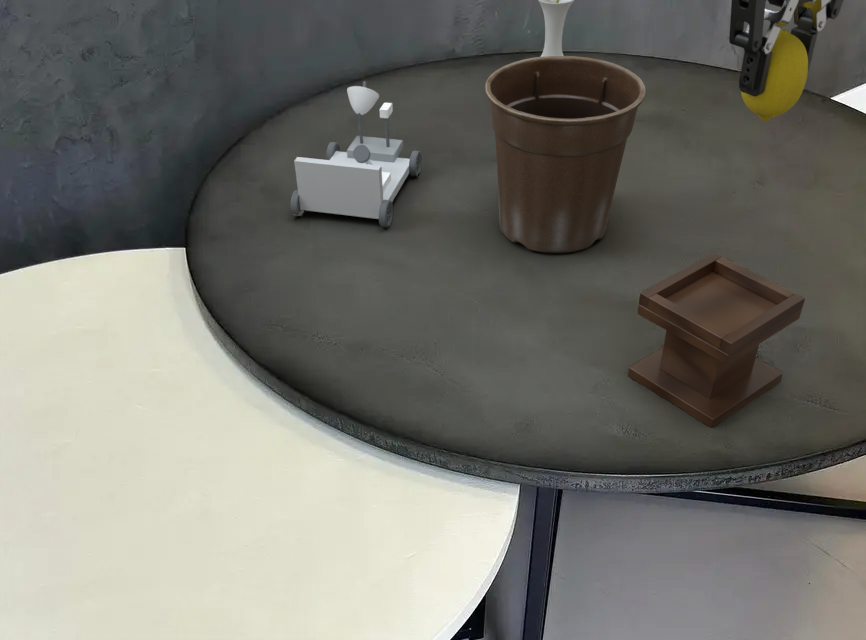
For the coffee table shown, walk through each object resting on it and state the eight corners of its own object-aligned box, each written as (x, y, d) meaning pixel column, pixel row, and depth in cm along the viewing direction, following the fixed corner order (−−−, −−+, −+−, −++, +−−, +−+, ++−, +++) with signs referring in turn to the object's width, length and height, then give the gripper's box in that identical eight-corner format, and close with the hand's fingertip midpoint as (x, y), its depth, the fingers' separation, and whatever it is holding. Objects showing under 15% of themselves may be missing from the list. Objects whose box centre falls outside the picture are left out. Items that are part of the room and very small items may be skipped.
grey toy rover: (334, 74, 120) (426, 82, 118) (341, 151, 127) (428, 160, 125) (281, 139, 108) (381, 150, 106) (292, 220, 115) (386, 232, 113)
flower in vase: (498, 91, 138) (504, -114, 120) (577, 82, 140) (594, -122, 122) (522, 131, 129) (532, -83, 111) (606, 122, 131) (629, -92, 113)
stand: (780, 381, 92) (805, 297, 85) (711, 428, 88) (731, 343, 81) (696, 334, 98) (713, 251, 91) (627, 375, 93) (640, 292, 87)
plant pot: (598, 184, 119) (613, 46, 107) (648, 253, 108) (670, 107, 96) (467, 202, 117) (468, 63, 105) (504, 274, 106) (510, 128, 94)
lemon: (722, 113, 92) (739, 23, 86) (775, 104, 93) (795, 14, 87) (752, 138, 88) (772, 46, 83) (808, 128, 89) (830, 36, 84)
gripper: (802, -110, 71) (755, 120, 83) (918, -148, 77) (858, 72, 89) (720, -128, 75) (686, 93, 87) (836, -163, 81) (789, 49, 93)
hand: (773, 82), depth 88 cm, fingers closed on lemon, 5 cm apart
